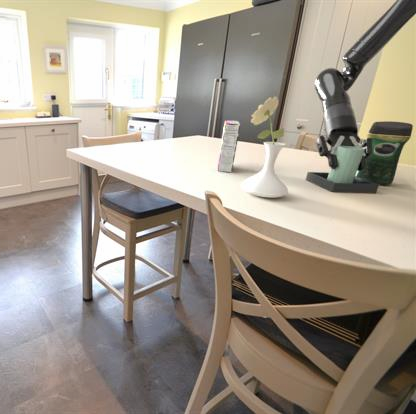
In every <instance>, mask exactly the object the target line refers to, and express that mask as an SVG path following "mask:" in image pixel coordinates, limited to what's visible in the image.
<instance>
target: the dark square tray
mask: <svg viewBox="0 0 416 414" xmlns="http://www.w3.org/2000/svg"><path fill="white" fill-rule="evenodd" d="M328 175H329V172H324V171H323V172H322V171H320V172H319V171H307V173H306V176H305V181H307V182H309V183H311V184H314V185H316V186H318V187H319V188H323V189H325V190H327V191H328V192H330V193H351V194H352V193H354V194H377V191H378V189H379V188H380V187H379V186H380V184H376V183H373V182H370V181H368V180H365V179H362V178H359V177H356V176H355V178H354V180H353V183H335V182H332V181H330V180H327V178H328Z"/></svg>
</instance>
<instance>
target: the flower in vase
mask: <svg viewBox="0 0 416 414" xmlns="http://www.w3.org/2000/svg"><path fill="white" fill-rule="evenodd" d="M279 102H280V100H279V98H278V97H277V95H276V96H274V97H273V98H272V97H271V96H270V97H268V99H266V100H265V101H264V102H263V104H259V105H258V107H257V108H258V109H257V110H255V111H254V113H252V114H251V118H252V119H250V123H251V124H253V126H258V125H259V124H262V123H263V122H266V121H267V120H268V119H269V125H270V129H265V130H263V131H261V132H260V133H259V134H257V136H256V138H257V139H260V140H264V139H266V138H268V136H270V135H271V139H272V141H264V142H263V144H264V147H265V153H266V154H265V162H264V166H263V167H262V170H261V171H259V172H258V173H256V174H254V175H252V176H249V177H248V178H247V179H245V180H244V181H242V183H241V184H240V187H241V189H242V190H243V191H244V192H246V193H248V194H250V195H253V196H257V197H261V198H262V197H263V198H275V199H276V198H281V197H286V195H288V193H289V189H288V187H287V185H286V184H285V183H284V182H283V181H282V180H281V179H280V178H279V177H278V176H277V174H276V173H275V164H276V160H277V158H278V155H279V153H280V152H281V151H282V149H284V147H285V146H287V144H286V143H285V142H284V143H283V142H278V141H275V140H276V139H280V138H282V137H284V135H285V129H284V127H282V128H279V129H278V130H274V131H273V123H272V117H271V116H272V115H273V114H274V113H275V111H276V110H277V108H278V106H279V105H280V103H279Z"/></svg>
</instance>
